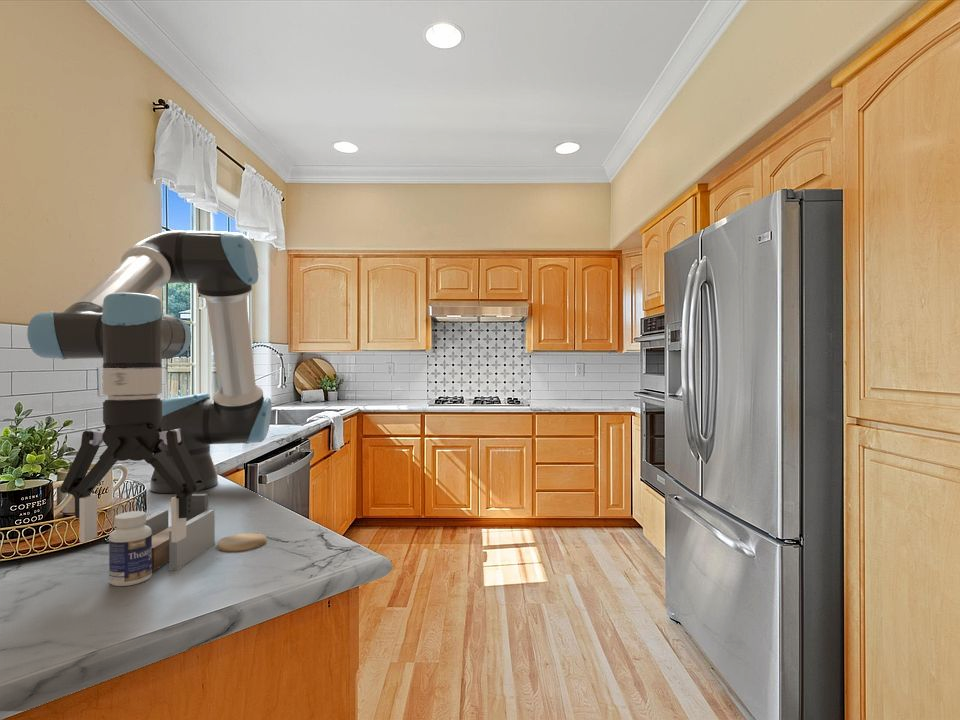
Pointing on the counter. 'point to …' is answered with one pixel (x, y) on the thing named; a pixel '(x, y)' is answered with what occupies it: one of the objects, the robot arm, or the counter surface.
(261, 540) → the coaster
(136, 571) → the pill bottle
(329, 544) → the counter surface
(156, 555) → the sliding block
